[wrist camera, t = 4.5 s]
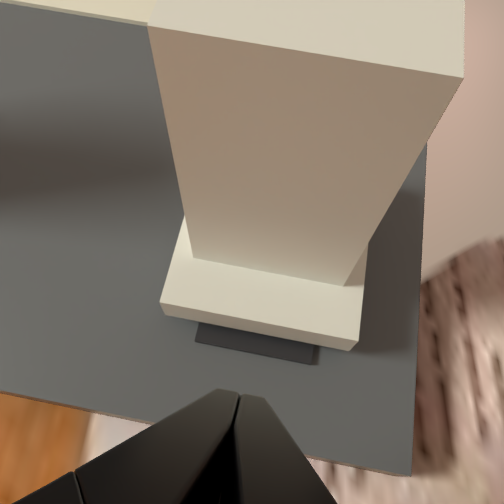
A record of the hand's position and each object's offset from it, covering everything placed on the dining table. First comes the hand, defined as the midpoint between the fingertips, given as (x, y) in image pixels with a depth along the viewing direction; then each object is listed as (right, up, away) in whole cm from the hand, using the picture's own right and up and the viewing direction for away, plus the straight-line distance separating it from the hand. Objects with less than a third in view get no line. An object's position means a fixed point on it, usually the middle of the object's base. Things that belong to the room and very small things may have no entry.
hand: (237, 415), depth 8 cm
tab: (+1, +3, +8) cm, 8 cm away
